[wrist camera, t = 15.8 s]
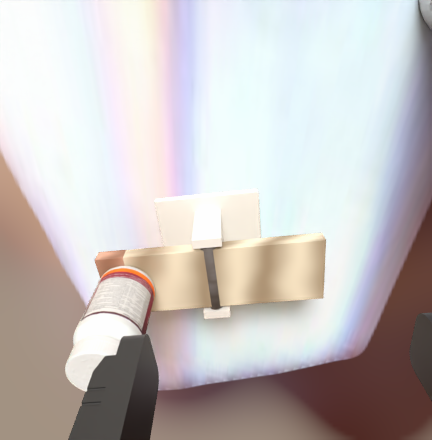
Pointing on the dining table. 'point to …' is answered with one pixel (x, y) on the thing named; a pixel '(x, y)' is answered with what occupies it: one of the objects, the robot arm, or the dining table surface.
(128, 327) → the pill bottle
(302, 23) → the dining table surface
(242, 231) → the pivot stand
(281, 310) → the dining table surface
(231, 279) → the board
